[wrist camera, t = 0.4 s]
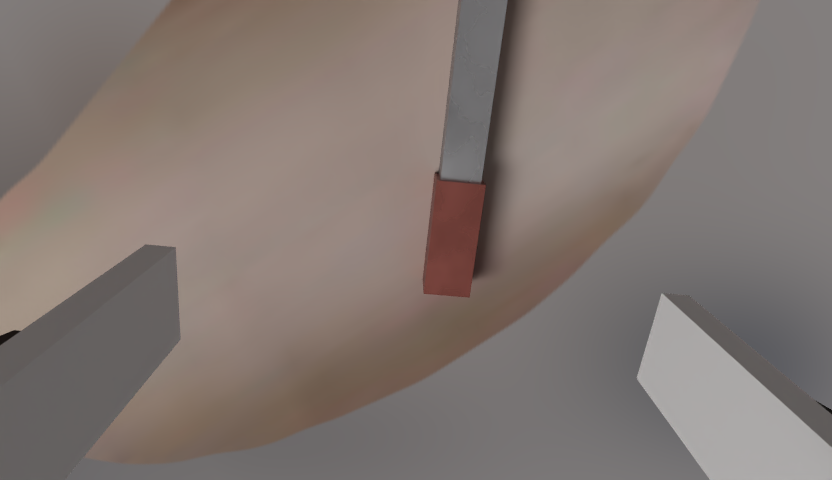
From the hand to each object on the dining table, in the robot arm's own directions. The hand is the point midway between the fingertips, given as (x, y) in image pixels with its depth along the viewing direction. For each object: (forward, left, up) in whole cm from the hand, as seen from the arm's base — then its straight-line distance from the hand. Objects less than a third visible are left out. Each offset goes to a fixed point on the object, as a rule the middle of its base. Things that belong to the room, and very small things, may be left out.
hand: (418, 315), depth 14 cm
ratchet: (-5, +4, -26) cm, 27 cm away
